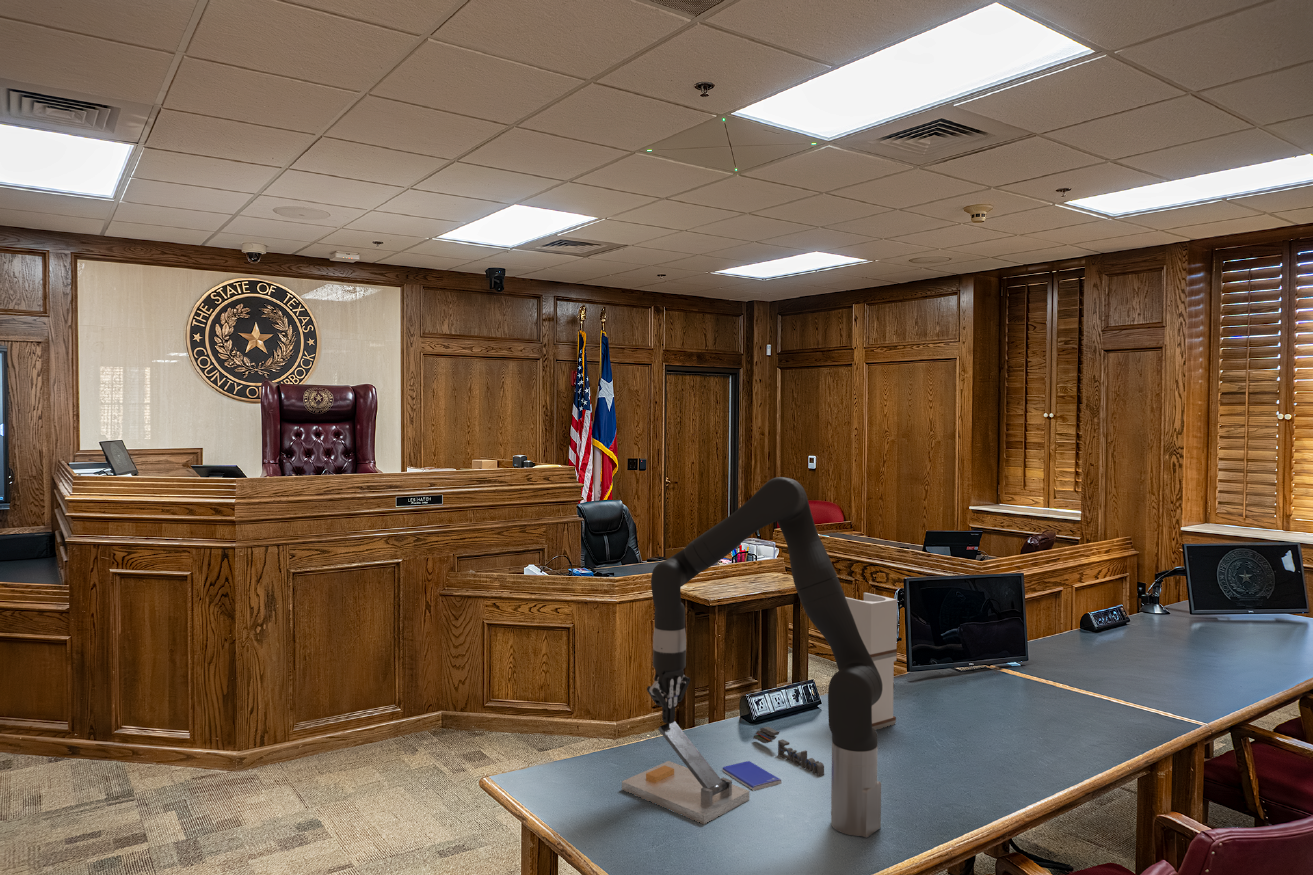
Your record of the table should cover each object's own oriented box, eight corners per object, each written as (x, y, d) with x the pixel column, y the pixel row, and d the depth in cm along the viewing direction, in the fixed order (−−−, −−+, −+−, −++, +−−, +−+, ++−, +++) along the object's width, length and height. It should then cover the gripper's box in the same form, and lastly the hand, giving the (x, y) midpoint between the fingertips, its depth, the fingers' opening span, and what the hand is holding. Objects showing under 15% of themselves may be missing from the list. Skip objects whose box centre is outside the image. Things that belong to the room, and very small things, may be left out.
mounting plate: (749, 799, 184) (749, 777, 184) (703, 824, 172) (704, 800, 172) (668, 768, 200) (668, 748, 200) (621, 789, 189) (621, 768, 189)
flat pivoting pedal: (724, 791, 182) (728, 786, 181) (710, 798, 178) (713, 793, 178) (671, 724, 192) (675, 719, 192) (657, 730, 189) (660, 725, 188)
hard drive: (781, 778, 193) (749, 760, 204) (753, 785, 189) (722, 766, 200) (781, 785, 193) (749, 766, 204) (753, 792, 189) (722, 773, 200)
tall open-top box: (895, 724, 232) (897, 599, 232) (869, 731, 226) (871, 603, 226) (864, 712, 242) (865, 592, 242) (838, 719, 236) (840, 596, 236)
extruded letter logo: (752, 743, 218) (752, 721, 218) (757, 741, 219) (757, 720, 219) (819, 777, 197) (819, 753, 197) (824, 775, 198) (824, 752, 198)
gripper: (662, 655, 182) (661, 734, 182) (700, 644, 192) (699, 719, 192) (637, 649, 187) (636, 725, 187) (676, 638, 197) (675, 711, 197)
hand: (668, 722), depth 190 cm, fingers closed
